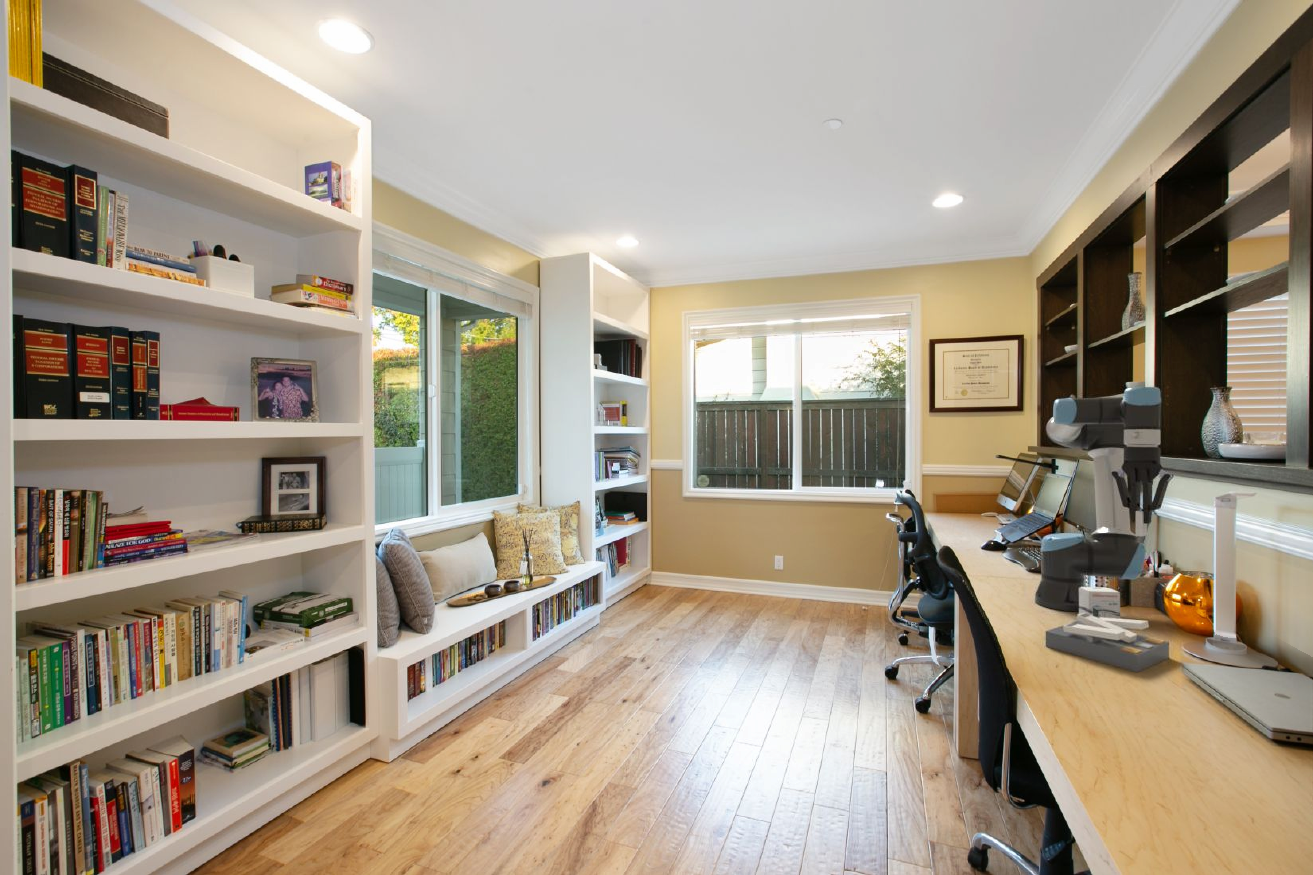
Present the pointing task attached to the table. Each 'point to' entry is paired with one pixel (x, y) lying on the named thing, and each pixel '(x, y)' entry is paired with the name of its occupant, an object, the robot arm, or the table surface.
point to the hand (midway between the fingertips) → (1141, 535)
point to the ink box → (1099, 602)
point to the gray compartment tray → (1110, 648)
